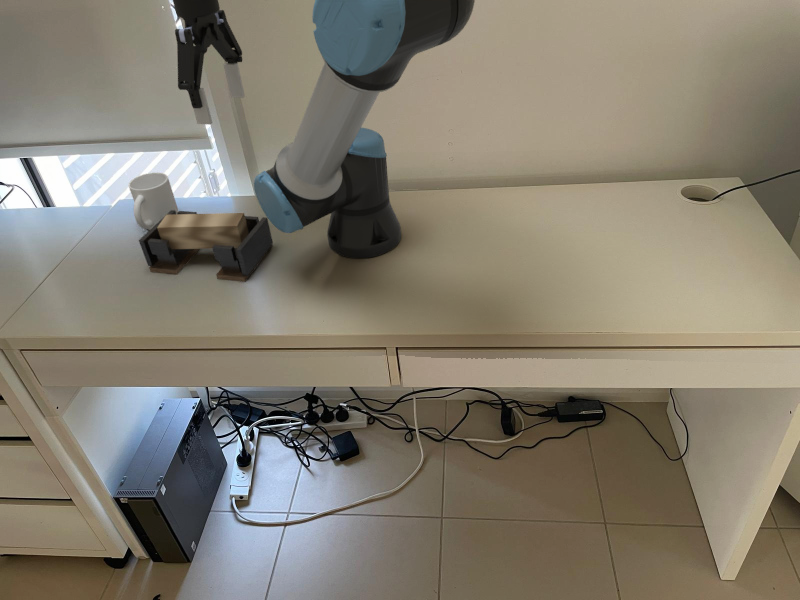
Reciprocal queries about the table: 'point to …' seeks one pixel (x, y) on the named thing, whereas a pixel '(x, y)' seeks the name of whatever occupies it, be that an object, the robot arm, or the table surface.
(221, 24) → the robot arm
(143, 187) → the mug
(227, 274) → the brackets
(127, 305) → the table surface
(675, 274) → the table surface
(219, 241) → the rail
